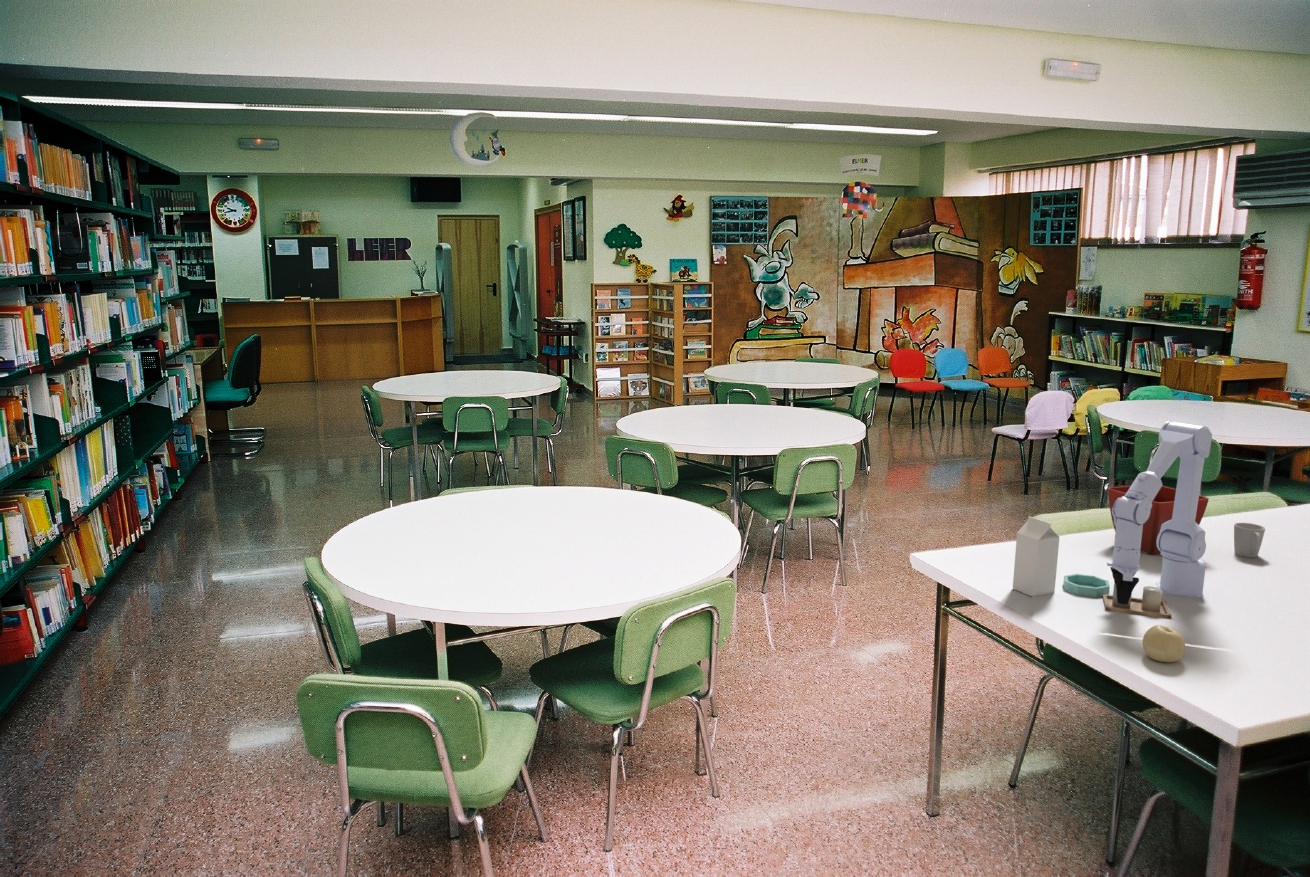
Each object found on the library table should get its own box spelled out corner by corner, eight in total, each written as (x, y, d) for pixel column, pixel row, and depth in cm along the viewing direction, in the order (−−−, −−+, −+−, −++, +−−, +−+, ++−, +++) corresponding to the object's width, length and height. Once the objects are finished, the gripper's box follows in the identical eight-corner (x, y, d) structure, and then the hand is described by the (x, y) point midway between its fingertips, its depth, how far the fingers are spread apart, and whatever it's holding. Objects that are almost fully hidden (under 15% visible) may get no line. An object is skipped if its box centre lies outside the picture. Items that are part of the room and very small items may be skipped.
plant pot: (1150, 536, 286) (1156, 483, 282) (1204, 554, 268) (1211, 498, 265) (1100, 541, 280) (1106, 487, 276) (1152, 560, 262) (1158, 503, 259)
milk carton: (1033, 597, 232) (1039, 524, 229) (1012, 588, 239) (1018, 517, 235) (1054, 594, 235) (1061, 521, 231) (1033, 585, 241) (1039, 514, 238)
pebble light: (1158, 607, 225) (1160, 587, 224) (1161, 612, 221) (1163, 592, 220) (1140, 604, 226) (1142, 585, 225) (1142, 610, 223) (1144, 590, 222)
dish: (1106, 586, 240) (1107, 577, 240) (1109, 600, 231) (1110, 590, 230) (1062, 581, 244) (1063, 572, 243) (1064, 594, 234) (1065, 584, 234)
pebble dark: (1129, 603, 227) (1131, 584, 226) (1131, 609, 223) (1133, 589, 222) (1111, 601, 228) (1113, 582, 228) (1112, 606, 225) (1114, 587, 224)
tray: (1165, 605, 227) (1165, 601, 227) (1171, 620, 218) (1171, 615, 218) (1102, 598, 232) (1102, 593, 232) (1105, 612, 223) (1105, 607, 223)
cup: (1253, 551, 271) (1257, 523, 269) (1271, 561, 261) (1275, 532, 260) (1225, 550, 272) (1229, 522, 270) (1242, 560, 262) (1246, 531, 261)
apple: (1130, 649, 201) (1146, 617, 201) (1166, 668, 199) (1182, 636, 200) (1144, 652, 193) (1161, 619, 193) (1181, 672, 191) (1198, 638, 192)
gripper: (1106, 536, 231) (1101, 588, 234) (1111, 553, 218) (1106, 608, 220) (1137, 539, 229) (1132, 592, 231) (1145, 556, 215) (1139, 612, 218)
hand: (1121, 600), depth 226 cm, fingers closed on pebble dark, 4 cm apart
